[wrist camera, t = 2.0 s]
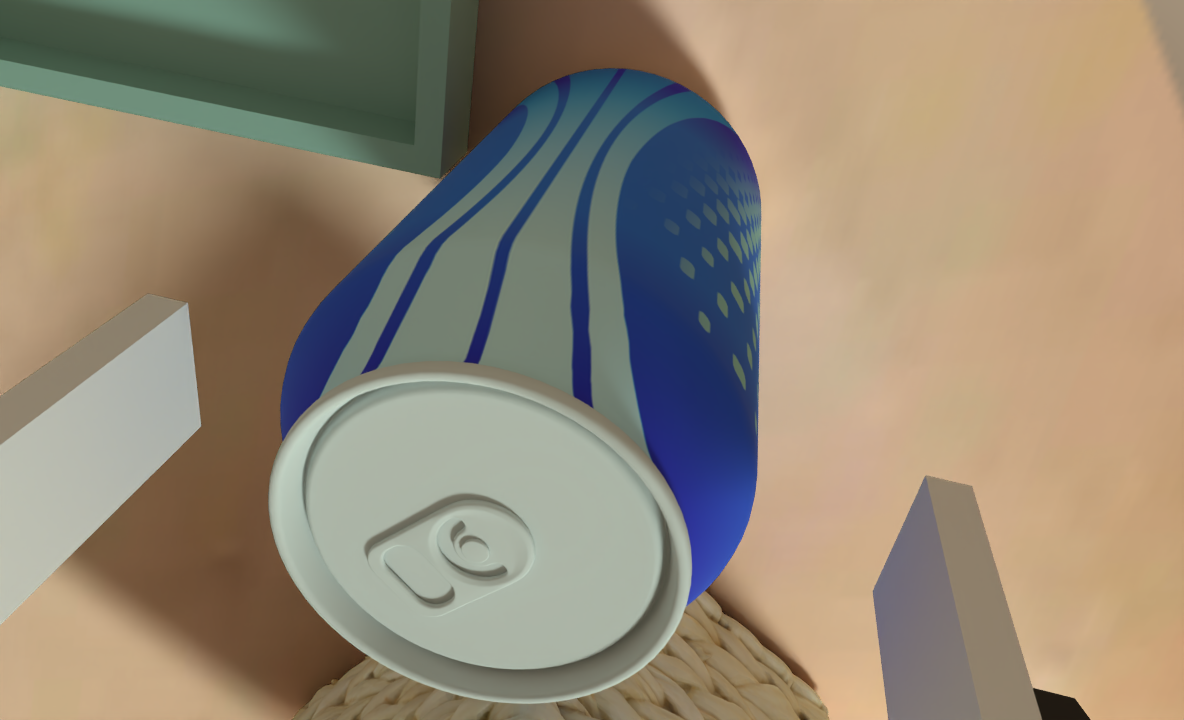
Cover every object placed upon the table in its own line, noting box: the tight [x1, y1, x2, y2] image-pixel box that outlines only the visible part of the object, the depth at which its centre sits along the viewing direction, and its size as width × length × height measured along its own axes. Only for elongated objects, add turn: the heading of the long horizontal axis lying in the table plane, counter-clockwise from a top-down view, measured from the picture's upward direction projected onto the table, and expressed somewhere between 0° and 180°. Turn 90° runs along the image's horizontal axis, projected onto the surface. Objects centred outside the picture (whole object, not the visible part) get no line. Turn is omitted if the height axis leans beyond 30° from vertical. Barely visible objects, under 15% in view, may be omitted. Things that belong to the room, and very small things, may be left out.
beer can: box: [268, 68, 761, 704], centre depth 20 cm, size 8×8×16 cm
